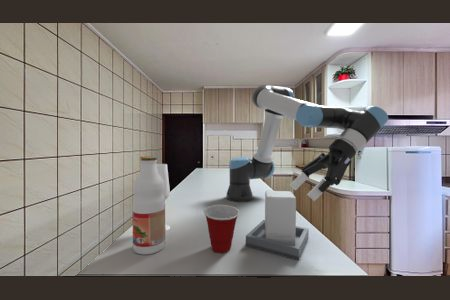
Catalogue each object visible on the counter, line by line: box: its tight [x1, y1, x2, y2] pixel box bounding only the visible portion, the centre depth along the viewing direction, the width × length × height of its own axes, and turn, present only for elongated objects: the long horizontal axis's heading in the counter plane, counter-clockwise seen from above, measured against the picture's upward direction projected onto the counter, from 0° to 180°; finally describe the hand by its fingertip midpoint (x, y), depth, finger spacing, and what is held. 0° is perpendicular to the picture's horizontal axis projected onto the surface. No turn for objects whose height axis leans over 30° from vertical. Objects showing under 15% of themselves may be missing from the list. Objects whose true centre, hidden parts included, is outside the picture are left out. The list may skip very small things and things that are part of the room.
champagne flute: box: [156, 163, 171, 232], centre depth 79 cm, size 7×7×24 cm
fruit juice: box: [131, 155, 166, 255], centre depth 65 cm, size 9×9×28 cm
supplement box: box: [264, 190, 297, 246], centre depth 69 cm, size 9×9×15 cm
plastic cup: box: [203, 204, 240, 254], centre depth 65 cm, size 11×11×12 cm
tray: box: [245, 219, 309, 261], centre depth 70 cm, size 16×16×3 cm
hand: (300, 192), depth 69 cm, fingers open, 13 cm apart
